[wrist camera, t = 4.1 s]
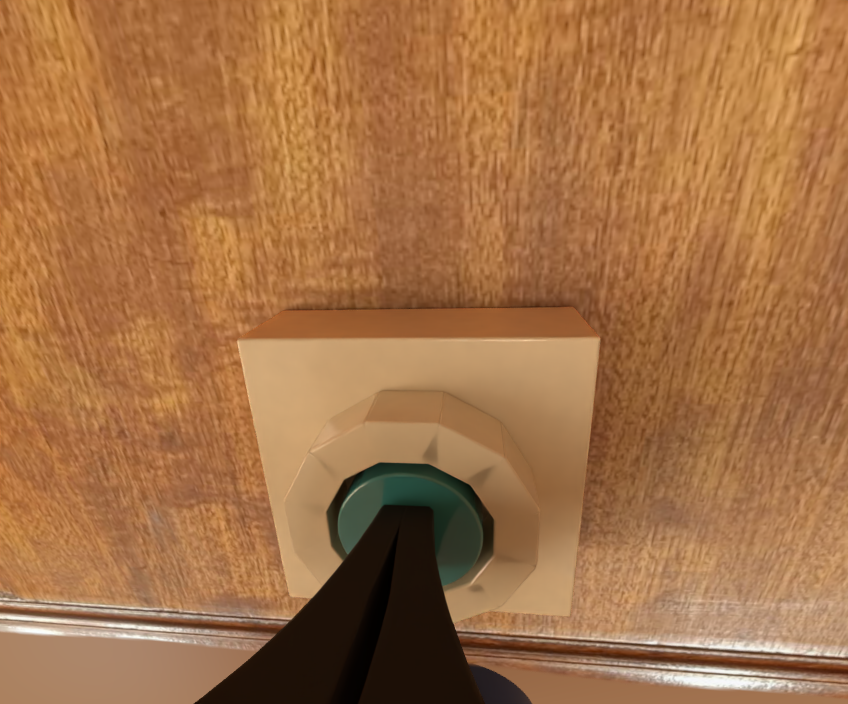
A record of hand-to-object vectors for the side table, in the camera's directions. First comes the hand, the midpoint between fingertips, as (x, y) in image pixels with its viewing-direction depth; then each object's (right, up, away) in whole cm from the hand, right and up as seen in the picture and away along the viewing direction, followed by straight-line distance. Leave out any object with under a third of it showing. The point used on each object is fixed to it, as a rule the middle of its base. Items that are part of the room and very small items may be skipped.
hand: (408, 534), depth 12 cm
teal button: (0, +1, +2) cm, 2 cm away
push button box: (+1, +2, +5) cm, 5 cm away
